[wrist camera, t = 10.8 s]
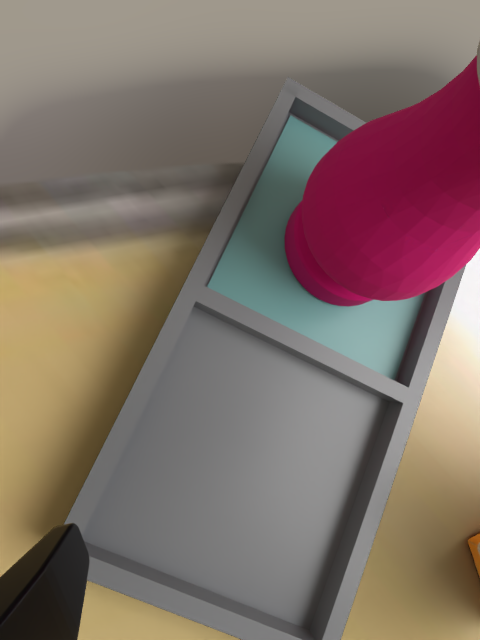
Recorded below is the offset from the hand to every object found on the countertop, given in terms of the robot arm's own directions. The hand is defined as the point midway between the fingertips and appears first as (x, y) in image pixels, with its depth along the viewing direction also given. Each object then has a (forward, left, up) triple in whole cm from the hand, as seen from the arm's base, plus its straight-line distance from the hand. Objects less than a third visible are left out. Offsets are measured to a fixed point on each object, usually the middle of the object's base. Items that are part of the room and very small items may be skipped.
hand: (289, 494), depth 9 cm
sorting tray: (+5, -2, -12) cm, 13 cm away
